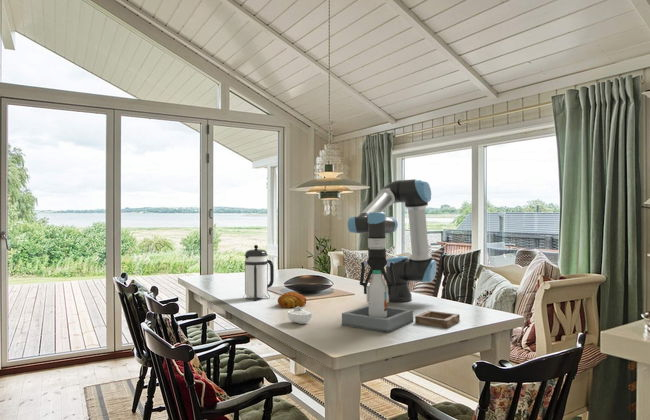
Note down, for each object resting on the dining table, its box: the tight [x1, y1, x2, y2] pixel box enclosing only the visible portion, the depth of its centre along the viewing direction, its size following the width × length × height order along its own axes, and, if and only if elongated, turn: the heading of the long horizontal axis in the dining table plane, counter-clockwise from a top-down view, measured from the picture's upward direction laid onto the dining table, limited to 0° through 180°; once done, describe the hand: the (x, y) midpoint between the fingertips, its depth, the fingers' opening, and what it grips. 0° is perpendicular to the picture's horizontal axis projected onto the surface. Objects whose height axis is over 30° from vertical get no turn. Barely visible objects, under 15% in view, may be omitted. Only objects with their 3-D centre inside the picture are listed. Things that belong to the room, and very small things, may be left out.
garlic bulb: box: [286, 307, 313, 325], centre depth 194 cm, size 10×12×7 cm
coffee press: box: [242, 244, 275, 302], centre depth 253 cm, size 17×16×30 cm
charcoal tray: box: [341, 304, 414, 334], centre depth 191 cm, size 22×22×5 cm
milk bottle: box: [368, 270, 388, 318], centre depth 191 cm, size 8×8×20 cm
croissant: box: [277, 291, 308, 309], centre depth 231 cm, size 14×16×8 cm
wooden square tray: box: [414, 310, 461, 329], centre depth 192 cm, size 14×14×3 cm
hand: (377, 302), depth 191 cm, fingers closed on milk bottle, 8 cm apart
